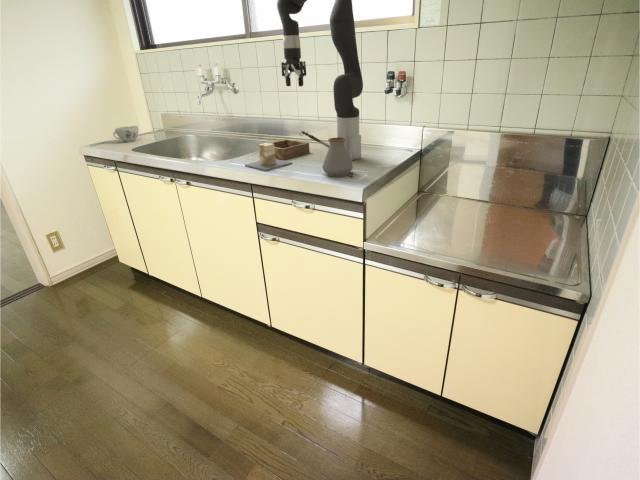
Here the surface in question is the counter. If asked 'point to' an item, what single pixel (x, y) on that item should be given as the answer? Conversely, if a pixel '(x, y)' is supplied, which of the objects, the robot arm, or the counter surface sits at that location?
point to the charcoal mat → (266, 168)
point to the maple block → (267, 153)
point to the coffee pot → (335, 157)
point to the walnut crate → (290, 148)
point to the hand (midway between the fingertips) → (294, 86)
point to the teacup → (127, 133)
